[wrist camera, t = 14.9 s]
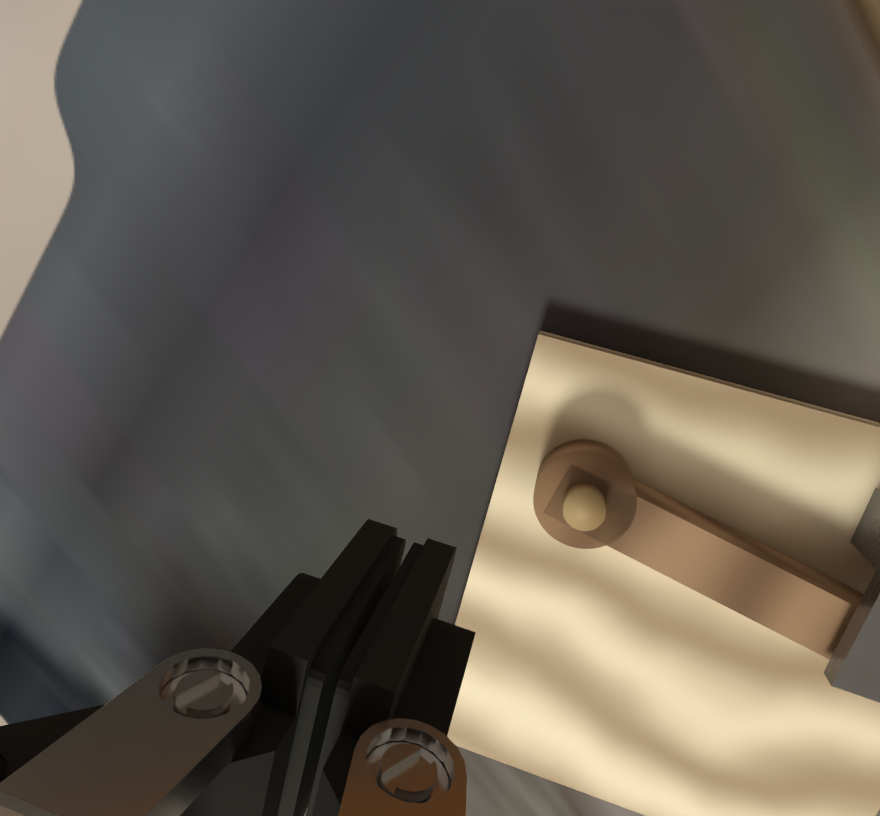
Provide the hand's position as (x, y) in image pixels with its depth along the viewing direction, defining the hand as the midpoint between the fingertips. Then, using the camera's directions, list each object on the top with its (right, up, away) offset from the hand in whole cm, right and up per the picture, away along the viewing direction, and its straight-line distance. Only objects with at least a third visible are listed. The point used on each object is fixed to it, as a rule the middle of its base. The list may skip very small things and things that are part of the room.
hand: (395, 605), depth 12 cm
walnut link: (+15, -4, +22) cm, 27 cm away
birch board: (+15, -8, +25) cm, 30 cm away
